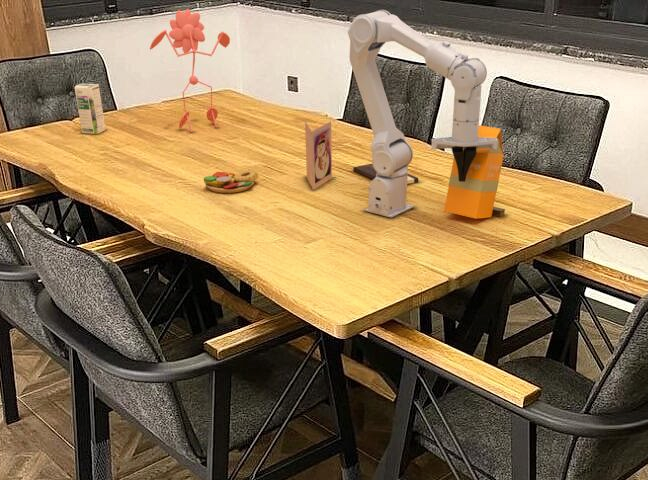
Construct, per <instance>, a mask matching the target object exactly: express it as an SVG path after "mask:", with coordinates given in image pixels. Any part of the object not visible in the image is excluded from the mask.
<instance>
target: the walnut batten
mask: <svg viewBox="0 0 648 480" xmlns="http://www.w3.org/2000/svg"><path fill="white" fill-rule="evenodd" d="M505 212H506V209H505V208H502V207H498V206H493V211H492V216H493V217H497V218H502V217H504V216H505Z"/></svg>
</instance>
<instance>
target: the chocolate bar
mask: <svg viewBox="0 0 648 480" xmlns="http://www.w3.org/2000/svg"><path fill="white" fill-rule="evenodd" d="M353 172H355V173H358V174H359V175H362V176H364V177H366V178H369V179H371V180H373V179H375V177H376V176H377V172H376V171H375V169H374V167H373V164H372V163H369V164H368V163H367V164H363V165H358V166H353ZM418 182H419V177H417V176H414V175H412V174H410V173H408V172H407V185H408V184H413V183H418Z"/></svg>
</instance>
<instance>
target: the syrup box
mask: <svg viewBox="0 0 648 480" xmlns="http://www.w3.org/2000/svg"><path fill="white" fill-rule="evenodd" d="M74 93H75V100H76V104H77V109H78V117H79V122H80V128H81V133H82V134H91V135H98V134H101V133H103V132H104V131H106V129H107V128H106V123H105V116H104V110H103V104H102V96H101V90H100V85H99V83H95V84H94V83H79V84H77V85H75V86H74Z"/></svg>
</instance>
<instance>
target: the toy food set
mask: <svg viewBox="0 0 648 480" xmlns="http://www.w3.org/2000/svg"><path fill="white" fill-rule="evenodd" d="M258 178H259V174H258V172H257V171H256V170H254V169H245V170H241V171H239V172H237V173H236V174H235V173H233V172H232V173H231V172H230V173H228V172H226V171H216V172H215V173H213V174H211V175H208V176H205V177H204V178H203V183H204V185H205V187H206V188H208V189H209V190H210V191H212V192H214V193H219V194H235V193H240V192H245V191H247V190H249V189H251V187H252V186H253V185H254V184H255V181H256V180H257V179H258Z"/></svg>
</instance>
